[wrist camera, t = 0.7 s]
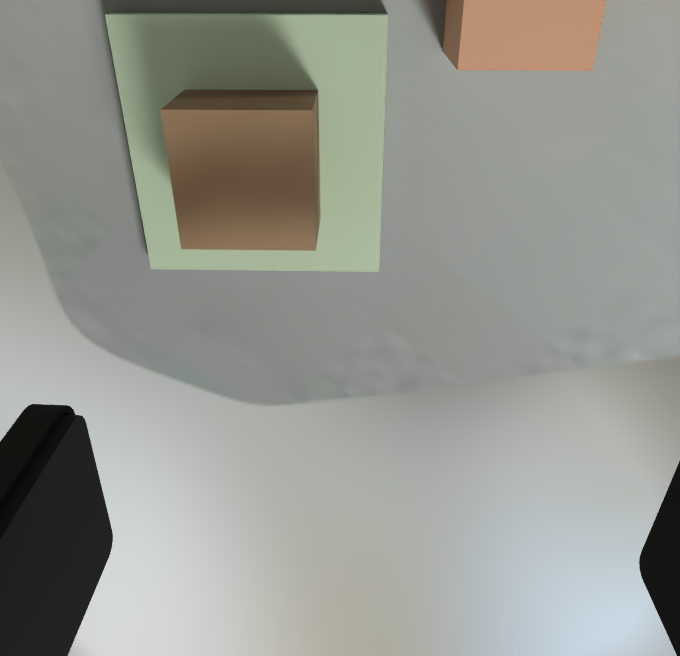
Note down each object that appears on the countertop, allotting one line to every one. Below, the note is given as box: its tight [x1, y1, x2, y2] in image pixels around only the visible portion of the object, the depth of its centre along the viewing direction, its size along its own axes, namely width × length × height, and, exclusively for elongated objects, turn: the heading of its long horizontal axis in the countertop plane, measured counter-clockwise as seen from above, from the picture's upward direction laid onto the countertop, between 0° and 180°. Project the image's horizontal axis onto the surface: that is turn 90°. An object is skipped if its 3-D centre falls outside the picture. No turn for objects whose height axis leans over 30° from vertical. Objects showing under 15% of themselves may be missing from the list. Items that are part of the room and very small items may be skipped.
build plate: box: [105, 13, 388, 272], centre depth 29 cm, size 12×12×1 cm
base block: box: [160, 89, 321, 251], centre depth 27 cm, size 6×6×4 cm
